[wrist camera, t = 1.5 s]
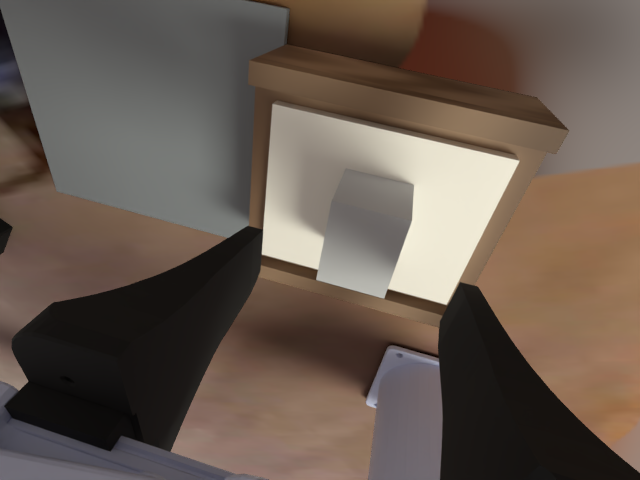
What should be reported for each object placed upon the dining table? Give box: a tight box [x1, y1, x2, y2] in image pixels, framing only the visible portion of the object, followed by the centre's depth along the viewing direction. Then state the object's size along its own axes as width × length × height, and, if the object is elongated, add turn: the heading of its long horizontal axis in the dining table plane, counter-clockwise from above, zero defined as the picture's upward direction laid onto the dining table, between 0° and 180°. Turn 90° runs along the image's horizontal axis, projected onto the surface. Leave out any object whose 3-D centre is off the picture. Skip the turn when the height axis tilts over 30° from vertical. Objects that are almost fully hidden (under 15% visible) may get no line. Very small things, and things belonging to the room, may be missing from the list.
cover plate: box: [262, 100, 519, 305], centre depth 16 cm, size 10×8×4 cm
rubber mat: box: [0, 0, 290, 238], centre depth 22 cm, size 16×14×1 cm
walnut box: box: [248, 44, 569, 327], centre depth 19 cm, size 12×11×5 cm
